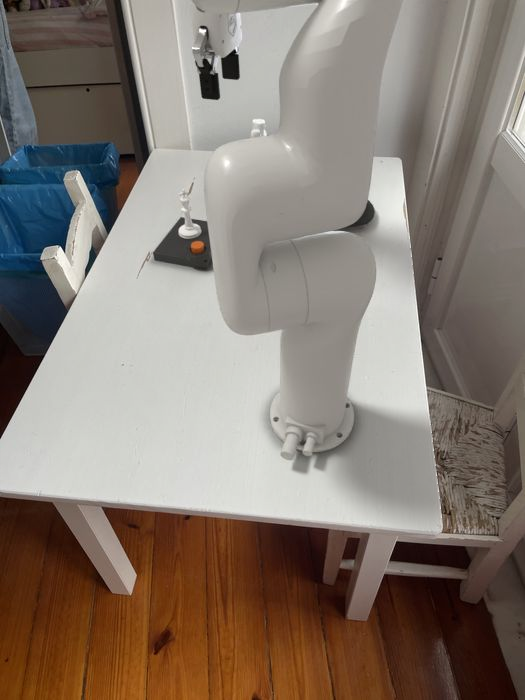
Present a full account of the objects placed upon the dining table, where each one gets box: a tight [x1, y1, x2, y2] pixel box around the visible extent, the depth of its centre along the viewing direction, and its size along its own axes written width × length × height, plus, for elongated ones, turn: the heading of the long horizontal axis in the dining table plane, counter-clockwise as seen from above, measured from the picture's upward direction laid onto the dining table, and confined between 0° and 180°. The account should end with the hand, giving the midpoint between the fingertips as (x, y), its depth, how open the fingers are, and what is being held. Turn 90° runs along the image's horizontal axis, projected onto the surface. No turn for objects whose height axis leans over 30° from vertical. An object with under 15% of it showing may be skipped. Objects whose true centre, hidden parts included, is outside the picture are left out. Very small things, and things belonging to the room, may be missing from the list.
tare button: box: [191, 241, 204, 254], centre depth 98 cm, size 3×3×1 cm
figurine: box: [250, 118, 268, 138], centre depth 118 cm, size 7×9×15 cm
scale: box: [152, 216, 213, 271], centre depth 103 cm, size 15×12×4 cm
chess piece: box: [179, 188, 201, 239], centre depth 101 cm, size 5×5×10 cm
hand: (221, 88), depth 85 cm, fingers open, 9 cm apart
